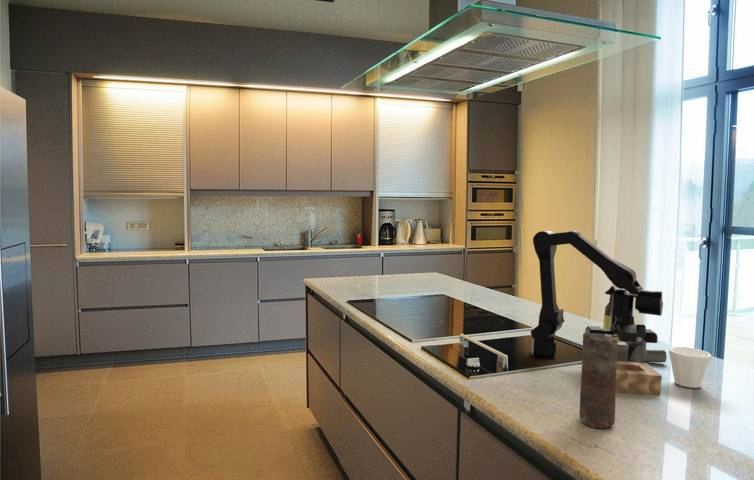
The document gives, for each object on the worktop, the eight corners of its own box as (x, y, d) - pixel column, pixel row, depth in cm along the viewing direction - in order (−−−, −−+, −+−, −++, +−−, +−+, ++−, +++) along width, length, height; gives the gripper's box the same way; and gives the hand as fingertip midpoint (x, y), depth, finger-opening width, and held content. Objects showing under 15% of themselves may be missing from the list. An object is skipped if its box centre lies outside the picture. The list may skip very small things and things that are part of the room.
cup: (703, 381, 151) (706, 349, 150) (713, 393, 141) (715, 359, 141) (663, 376, 154) (666, 345, 153) (670, 388, 145) (672, 354, 144)
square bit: (613, 371, 158) (615, 344, 157) (610, 367, 161) (611, 341, 161) (626, 372, 157) (628, 345, 157) (622, 368, 161) (624, 341, 160)
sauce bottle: (612, 349, 181) (615, 290, 180) (597, 344, 187) (601, 287, 185) (626, 347, 184) (630, 289, 182) (611, 343, 189) (615, 286, 188)
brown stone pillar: (572, 415, 124) (577, 330, 123) (603, 415, 125) (608, 330, 123) (588, 430, 117) (593, 339, 115) (621, 429, 117) (626, 339, 116)
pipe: (667, 367, 164) (669, 341, 163) (622, 363, 166) (624, 337, 166) (661, 361, 170) (663, 336, 169) (617, 357, 172) (619, 332, 172)
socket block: (615, 391, 141) (616, 372, 140) (603, 377, 152) (604, 360, 151) (660, 394, 140) (661, 375, 139) (644, 380, 150) (646, 362, 150)
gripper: (596, 315, 151) (593, 369, 152) (667, 318, 149) (663, 374, 150) (586, 307, 162) (583, 358, 163) (651, 310, 160) (648, 362, 161)
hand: (618, 363), depth 159 cm, fingers closed on square bit, 4 cm apart
